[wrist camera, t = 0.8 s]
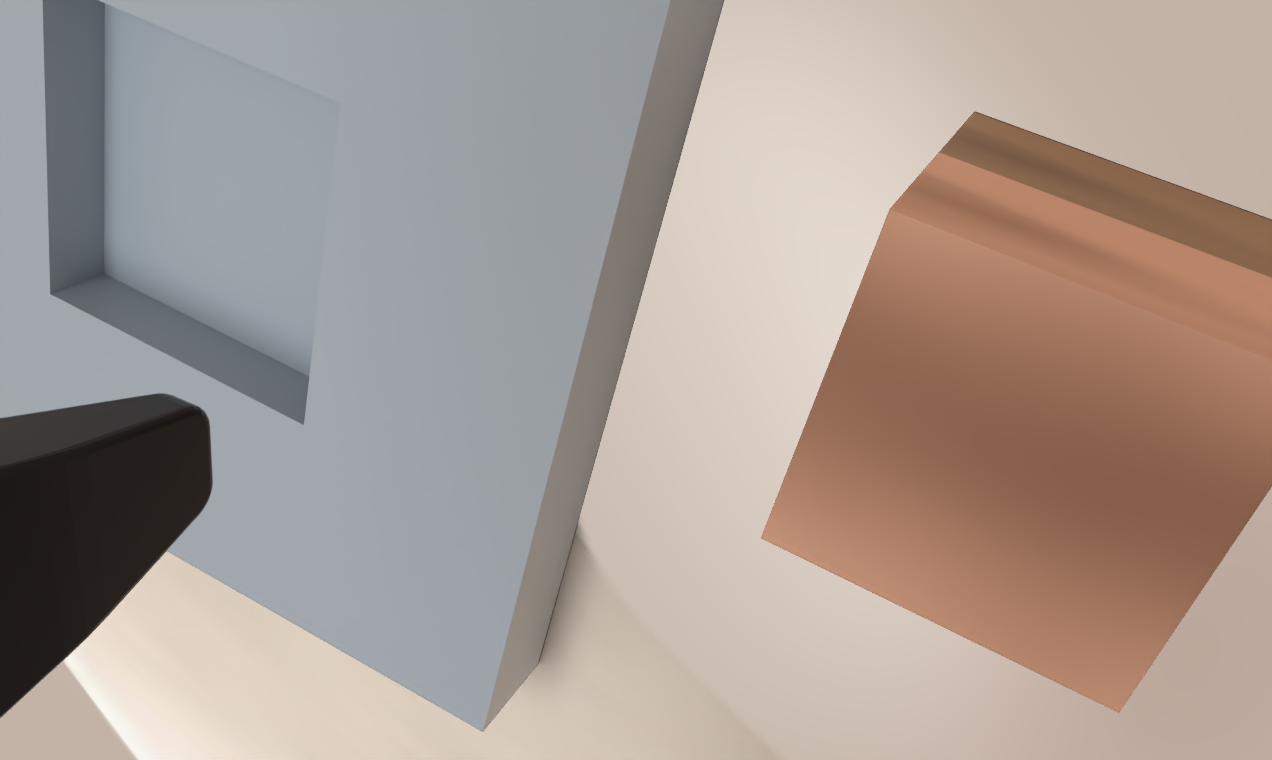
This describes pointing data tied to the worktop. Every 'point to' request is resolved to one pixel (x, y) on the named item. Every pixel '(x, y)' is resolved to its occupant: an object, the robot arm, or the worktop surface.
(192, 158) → the socket board
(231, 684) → the worktop surface
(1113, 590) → the brown block
